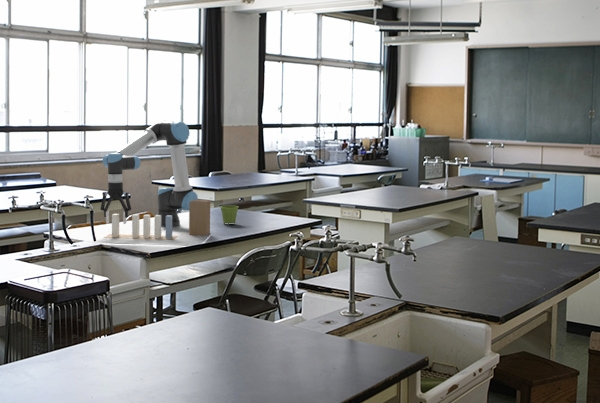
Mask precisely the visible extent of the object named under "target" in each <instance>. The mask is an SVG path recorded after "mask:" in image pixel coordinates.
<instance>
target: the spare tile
mask: <svg viewBox="0 0 600 403" xmlns="http://www.w3.org/2000/svg"><path fill="white" fill-rule="evenodd" d="M111 234H112V237H118V236H119V234H120V213H112V214H111Z"/></svg>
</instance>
